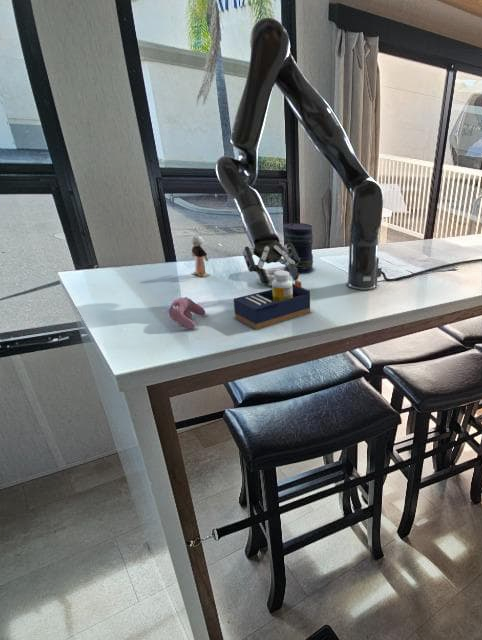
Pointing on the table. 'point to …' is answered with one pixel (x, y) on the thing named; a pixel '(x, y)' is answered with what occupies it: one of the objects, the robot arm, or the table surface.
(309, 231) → the storage jar
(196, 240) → the grandmother figurine
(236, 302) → the navy storage tray
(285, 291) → the supplement bottle
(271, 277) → the donut
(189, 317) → the video game controller
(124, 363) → the table surface
